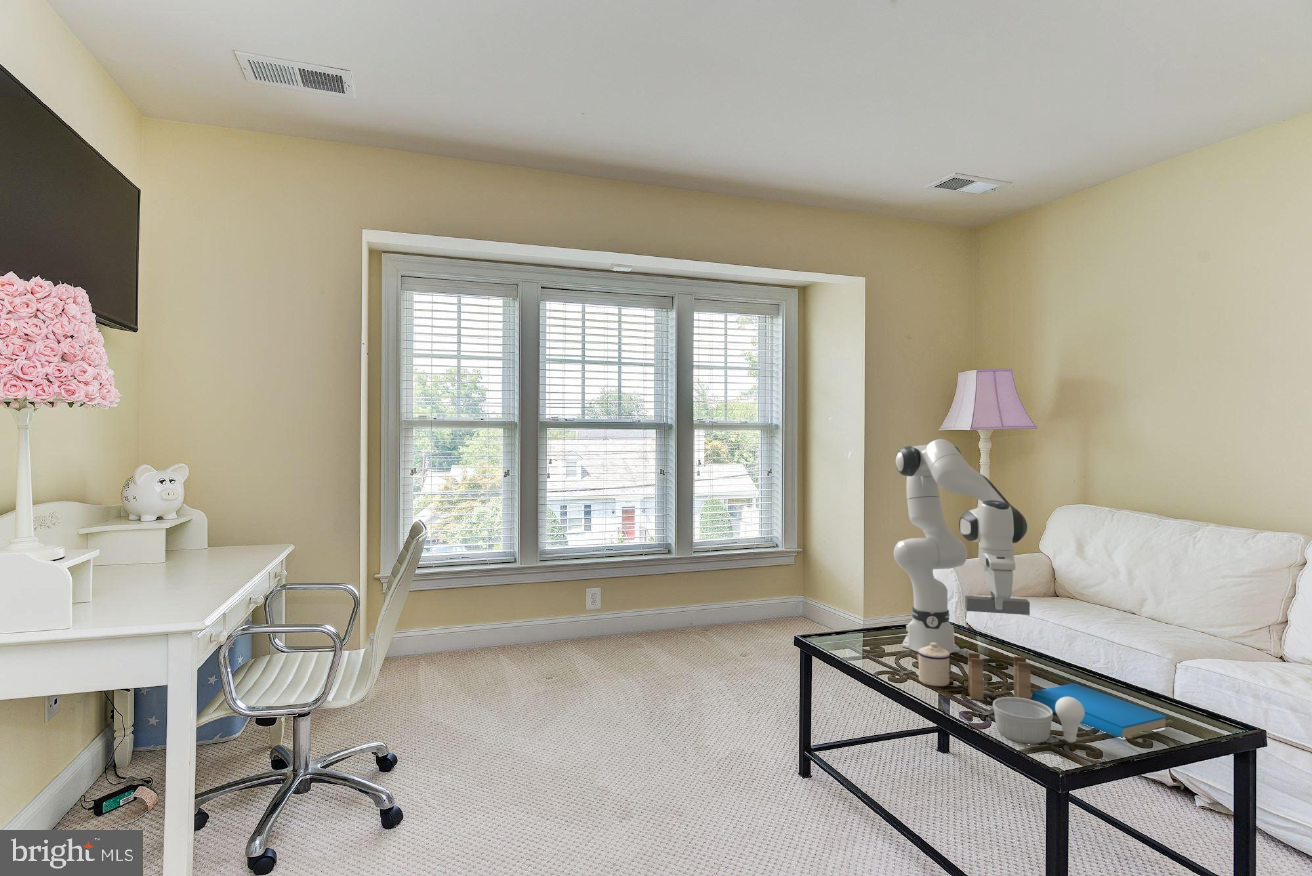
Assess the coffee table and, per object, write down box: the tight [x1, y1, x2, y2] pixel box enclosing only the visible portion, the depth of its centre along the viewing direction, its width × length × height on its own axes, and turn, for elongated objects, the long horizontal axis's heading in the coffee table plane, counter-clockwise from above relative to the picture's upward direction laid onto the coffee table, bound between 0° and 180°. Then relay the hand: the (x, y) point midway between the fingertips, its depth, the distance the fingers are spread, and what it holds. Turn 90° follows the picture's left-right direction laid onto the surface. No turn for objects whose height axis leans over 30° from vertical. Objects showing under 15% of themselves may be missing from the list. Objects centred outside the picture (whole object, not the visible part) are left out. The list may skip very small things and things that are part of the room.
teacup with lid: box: [917, 643, 951, 687], centre depth 206 cm, size 12×9×12 cm
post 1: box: [967, 652, 984, 701], centre depth 193 cm, size 6×3×11 cm, turn 163°
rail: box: [964, 595, 1031, 616], centre depth 191 cm, size 4×16×4 cm, turn 73°
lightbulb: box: [1055, 697, 1085, 744], centre depth 163 cm, size 6×6×11 cm
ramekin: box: [992, 696, 1054, 745], centre depth 168 cm, size 13×13×7 cm
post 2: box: [1013, 655, 1032, 700], centre depth 190 cm, size 6×3×11 cm, turn 163°
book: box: [1031, 682, 1167, 738], centre depth 179 cm, size 17×4×25 cm
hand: (996, 606), depth 191 cm, fingers closed on rail, 4 cm apart
